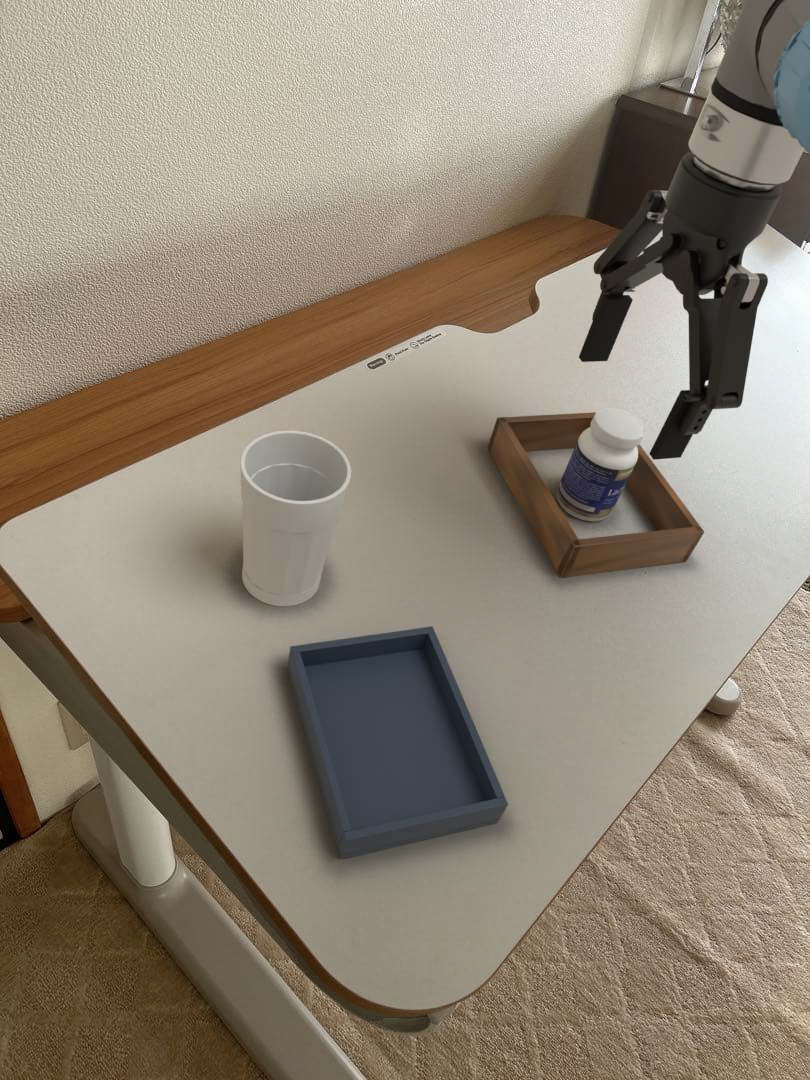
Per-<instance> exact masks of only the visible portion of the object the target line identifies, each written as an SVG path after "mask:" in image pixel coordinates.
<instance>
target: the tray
mask: <svg viewBox="0 0 810 1080" xmlns="http://www.w3.org/2000/svg"><path fill="white" fill-rule="evenodd" d="M286 665H287V666H286V669H287V673H288V676H289V679H290V683H291V687H292V690H293V694H294V697H295V701H296V705H297V709H298V712H299V715H300V716H299V717H300V720H301V723H302V727H303V730H304V734H305V737H306V740H307V744H308V748H309V752H310V755H311V759H312V762H313V765H314V769H315V773H316V776H317V781H318V784H319V787H320V791H321V794H322V798H323V801H324V805H325V808H326V812H327V816H328V819H329V822H330V826H331V830H332V833H333V836H334V840H335V844H336V848H337V851H338V855H339V858H340V859H341V860H342V859H347V858H351V857H356V856H359V855H364V854H368V853H373V852H377V851H381V850H386V849H390V848H395V847H399V846H403V845H408V844H412V843H415V842H420V841H425V840H428V839H433V838H438V837H442V836H446V835H450V834H455V833H459V832H463V831H468V830H471V829H476V828H480V827H485V826H489V825H493V824H497V823H499V821H500V820H501V818H502V816H503V814H504V813H505V811H506V809H507V807H508V805H509V803H508V801H507V798H506V796H505V793H504V791H503V788H502V787H501V783H500V782H499V779H498V777H497V775H496V772H495V770H494V767H493V765H492V763H491V760H490V758H489V755H488V753H487V751H486V748H485V746H484V744H483V742H482V739H481V737H480V735H479V732H478V730H477V728H476V725H475V723H474V720H473V718H472V716H471V714H470V711H469V709H468V706H467V704H466V702H465V699H464V697H463V694H462V692H461V690H460V688H459V685H458V683H457V680H456V678H455V676H454V673H453V671H452V669H451V666H450V664H449V662H448V660H447V657H446V654H445V652H444V649H443V647H442V645H441V643H440V640H439V638H438V636H437V633H436V631H435V629H434V627H433V626H425V627H418V628H417V627H416V628H410V629H403V630H397V631H396V630H395V631H391V632H390V631H389V632H381V633H375V634H369V635H361V636H354V637H348V638H347V637H346V638H340V639H333V640H326V641H319V642H312V643H311V642H310V643H306V644H298V645H291V646H290V647H289V653H288V659H287V664H286Z"/></svg>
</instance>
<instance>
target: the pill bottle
mask: <svg viewBox="0 0 810 1080" xmlns="http://www.w3.org/2000/svg"><path fill="white" fill-rule="evenodd" d="M644 435H645V426H644V424H643V423H642V422H641V420H640V419H639V418H637V416H635V415H633V414H632V413H630V412H629V411H626V410H624V409H622V408H616V407H602V408H600V409H598V410H596V413H595V415H594V417H593V419H592V421H591V424H590V427H589V428H587V429H586V430H584V431H583V432H582V434H581V435H580V437H579V439H578V441H577V444H576V446H575V448H573V451H572V453H571V456H570V458H569V460H568V463H567V465H566V467H565V469H564V471H563V474H562V476H561V478H560V481H559V483H558V485H557V489H556V492H555V493H556V500H557V502H558V504H559V506H560V507H561V508H562V510H564V511H565V512H566V513H567V514H569V515H571V516H573V517H574V518H576V519H579V520H581V521H586V522H599V521H602V520H605V519H607V518H608V517H610V516H611V514H612V513H613V510H614V509H615V507H616V505H617V503H618V501H619V498H620V497H621V494H622V492H623V490H624V489H625V486H626V482H627V480H628V478H629V476H630V474H631V472H632V470H633V468H634V466H635V464H636V462H637V459H638V449H637V446H638V445H639V444H640V445H641V441H642V439H643V437H644Z"/></svg>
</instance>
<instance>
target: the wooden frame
mask: <svg viewBox="0 0 810 1080" xmlns="http://www.w3.org/2000/svg"><path fill="white" fill-rule="evenodd" d="M596 412H597V411H596ZM596 412H595V411H591V412H576V413H558V414H554V413H553V414H540V415H521V416H502V417H501V416H500V417H496V420H495V423H494V426H493V429H492V433H491V435H490V438H489V441H488V445H487V448H486V449H487V451H488V453H489V455H490V457H491V458H492V460H493V462H494V464H495V465H496V467H497V469H498V471H499V472H500V474H501V476H502V478H503V480H504V481H505V483H506V485H507V486H508V488H509V490H510V492H511V493H512V495H513V497H514V499H515V501H516V502H517V505H518V506H519V508H520V509H521V511H522V513H523V514H524V517H525V518H526V520H527V521H528V523H529V525H530V527H531V529H532V531H533V533H534V534H535V536H536V538H537V539H538V541H539V543H540V544H541V547H542V548H543V550H544V552H545V553H546V555H547V557H548V559H549V560H550V563H551V565H552V566H553V568H554V570H555V571H556V573H557V575H558V576H559V578H569V577H576V576H584V575H585V576H586V575H592V574H601V573H607V572H616V571H624V570H631V569H638V568H646V567H655V566H662V565H669V564H678V563H679V564H680V563H685V562H688V560H689V559H690V557H691V555H692V553H693V552H694V550H695V549H696V547H697V545H698V543H699V542H700V540H701V538H702V537H703V535H704V534H705V530H704V529H703V528H702V527H701V524H700V523H699V522H698V521H697V520H696V518H695V517H694V516H693V514H692V513H691V511H690V510H689V509H688V508H687V506H686V505H685V503H684V502H683V501H682V500H681V498H680V496H679V495H678V494H677V492H675V490H674V488H673V487H672V485H670V483H669V482H668V480H667V479H666V478H665V476H664V475H663V473H662V472H661V471H660V470H659V468H658V467H657V466H656V464H655V463H654V461H653V459H651V457H650V455H648V453H647V452H646V450H645V449H644V448H643V447H642V445H641V443H640V444H639V445H638V446H637V449H638V459H637V462H636V464H635V466H634V468H633V470H632V472H631V474H630V476H629V478H628V480H627V482H626V484H625V486H626V488H627V489H628V490H629V491H630V493H631V494H632V495H633V497H634V498H635V500H636V501H637V503H638V504H639V505H640V507H641V509H642V510H643V511H644V512H645V514H646V516H647V517H648V519H649V521H650V522H651V523H652V525H653V526H654V528H656V530H652V531H643V532H633V533H625V534H624V533H623V534H616V535H615V534H614V535H607V536H598V537H590V538H581V539H579V538H578V536H577V534H576V533H575V531H574V530H573V528H572V526H571V524H570V523H569V521H568V520H567V518H566V516H565V515H564V513H563V511H562V510H561V508H560V507H559V506H560V505H558V503H557V502H556V500H555V498H554V497H553V495H552V493H551V492H550V490H549V488H548V486H546V484H545V482H544V480H543V479H542V477H541V475H540V474H539V472H538V470H537V469H536V466H535V465H534V464H533V462H532V461H531V459H530V457H529V455H528V454H527V452H534V451H550V450H564V449H574V448H575V446H576V444H577V441H578V439H579V437H580V435H581V434H582V432H583V431H584V430H586V429H587V428H589V427H590V424H591V421H592V419H593V417H594V415H595V413H596Z"/></svg>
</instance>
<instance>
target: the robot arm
mask: <svg viewBox="0 0 810 1080" xmlns="http://www.w3.org/2000/svg"><path fill="white" fill-rule="evenodd" d="M687 144H688V149H689V150H690V151H688V152H687V153H686V154H684V155H682V157H681V158H680V161H679V163H678V166H677V168H676V171H675V173H674V175H673V178H672V180H671V183H670V185H669V188H668V189H667V190H660V189H659V190H658V189H657V190H656V189H649V190H648V191H647V193H646V194H645V196H644V198H643V200H642V203H641V204H640V206H639V209H638V211H637V212H636V213H635V215H634V216H633V217H632V218H631V219H630V220H629V222H628V223H627V224H626V225H625V226H624V228H623V229H622V230H621V231H620V232H619V233H618V234H617V236H616V237H615V238H614V239H613V241H612V242H611V243H610V244H609V245H608V246H607V247H606V248H605V249H604V251H603V252H602V253H601V254H600V255H599V257H598V258H597V259H596V260H595V262H594V263H593V272H594V275H599V276H600V278H601V280H600V283H599V284H600V285H599V288H600V291H601V292H600V294H599V296H598V300H597V303H596V304H595V308H594V310H593V312H592V319H591V320H592V321H591V323H590V327H589V328H588V329H589V330H588V332H587V334H586V337H585V338H584V339H585V340H584V343H583V345H582V347H581V350H580V352H579V355H578V359H579V360H580V361H581V362H582V363H590V362H591V363H592V362H608V360H609V357H610V355H611V353H612V351H613V349H614V346H615V344H616V341H617V339H618V336H619V334H620V332H621V329H622V327H623V325H624V322H625V319H626V317H627V314H628V313H629V310H630V307H631V305H632V303H633V301H634V299H633V298H632V297H631V296H630V295H629V294H624V293H634V292H636V290H635V289H636V288H637V287H639V286H640V285H642V284H644V283H646V282H647V281H649V280H651V279H653V278H655V277H657V276H659V275H661V274H662V275H663V276H664V277H665V278H666V279H667V280H669V281H671V282H672V283H673V285H674V287H675V289H676V290H677V292H678V293H680V295H682V307H683V309H684V310H685V311H686V312H687V314H688V365H689V366H688V370H689V371H688V374H689V375H688V376H689V378H688V381H689V389H682V390H680V391H679V393H678V395H677V397H676V399H675V401H674V403H673V406H672V407H671V409H670V411H669V413H668V415H667V417H666V419H665V421H664V423H663V425H662V427H661V429H660V430H659V433H658V435H657V437H656V439H655V441H654V443H653V445H652V447H651V449H650V451H649V456H650V458H652V461H653V460H656V461H657V460H667V459H679V458H681V457H682V455H684V452H685V450H686V448H687V446H688V445H689V443H690V441H691V439H692V437H693V435H698V434H699V433H700V432H702V430H703V429H704V426H705V425H706V423H707V421H708V419H709V417H710V416H711V414H712V411H713V410H726V409H728V410H729V409H738V408H740V407H741V406H742V404H743V400H744V399H743V398H744V393H745V387H746V381H747V375H748V369H749V362H750V355H751V349H752V345H753V337H754V331H755V326H756V325H755V324H756V320H757V315H758V308H759V305H760V303H761V300H762V298H763V296H764V293H765V292H766V289H767V286H768V284H769V279H768V276H767V274H766V273H763V272H761V273H760V272H758V273H757V272H751V271H750V270H748V269H747V268H745V267H744V266H742V263H743V257H744V253H745V250H746V248H747V247H748V246H749V245H750V244H751V243H752V242H753V241H754V240H755V239H757V238H759V236H760V235H762V233H763V232H764V230H765V228H766V227H767V224H768V222H769V220H770V218H771V217H772V214H773V212H774V211H775V208H776V207H777V204H778V202H779V200H780V198H781V197H782V195H783V188H782V184H784V183H786V182H787V181H790V179H791V177H792V175H793V174H794V171H795V169H796V167H797V165H798V163H799V161H800V159H801V157H802V155H803V153H804V150H805V151H806V152H807V153H808V155H810V0H745V2H744V4H743V7H742V9H741V11H740V14H739V17H738V19H737V22H736V24H735V26H734V30H733V31H732V34H731V36H730V39H729V42H728V44H727V47H726V49H725V52H724V54H723V56H722V58H721V61H720V64H719V67H718V69H717V71H716V76H714V79H713V82H712V84H711V87H710V90H709V92H708V95H707V97H706V99H705V102H704V104H703V106H702V109H701V112H700V114H699V116H698V118H697V120H696V123H695V126H694V128H693V131H692V133H691V135H690V137H689V140H688V143H687ZM661 232H662V233H661ZM660 233H661V234H662V235H661V236H660V237H659V240H656V241H654V240H655V239H656V237H657V236H658V235H660ZM653 241H654V243H652V242H653ZM651 243H652V244H651ZM712 292H713V297H712V298H710V297H709V298H708V297H707V298H703V297H700V296H705V295H708V294H710V293H712ZM707 381H708V382H707ZM706 382H707V384H706Z"/></svg>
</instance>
